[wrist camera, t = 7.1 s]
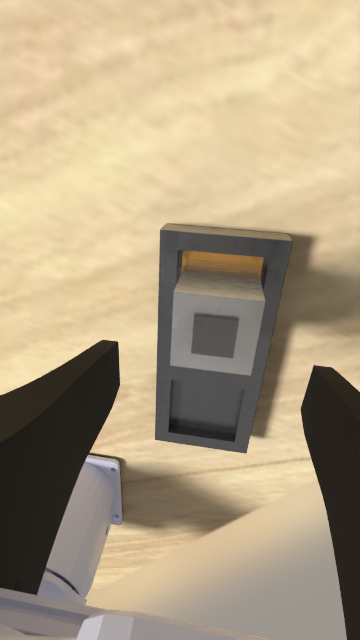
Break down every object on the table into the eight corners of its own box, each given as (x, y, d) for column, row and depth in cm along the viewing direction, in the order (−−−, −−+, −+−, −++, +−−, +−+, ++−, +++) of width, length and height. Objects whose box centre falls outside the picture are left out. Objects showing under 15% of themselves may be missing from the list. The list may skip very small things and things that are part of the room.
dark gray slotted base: (245, 435, 26) (246, 453, 24) (159, 422, 26) (155, 439, 25) (287, 233, 18) (292, 240, 17) (166, 223, 19) (160, 229, 17)
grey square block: (246, 327, 20) (251, 378, 15) (183, 320, 20) (169, 367, 16) (256, 265, 18) (265, 302, 14) (187, 259, 19) (173, 293, 14)
